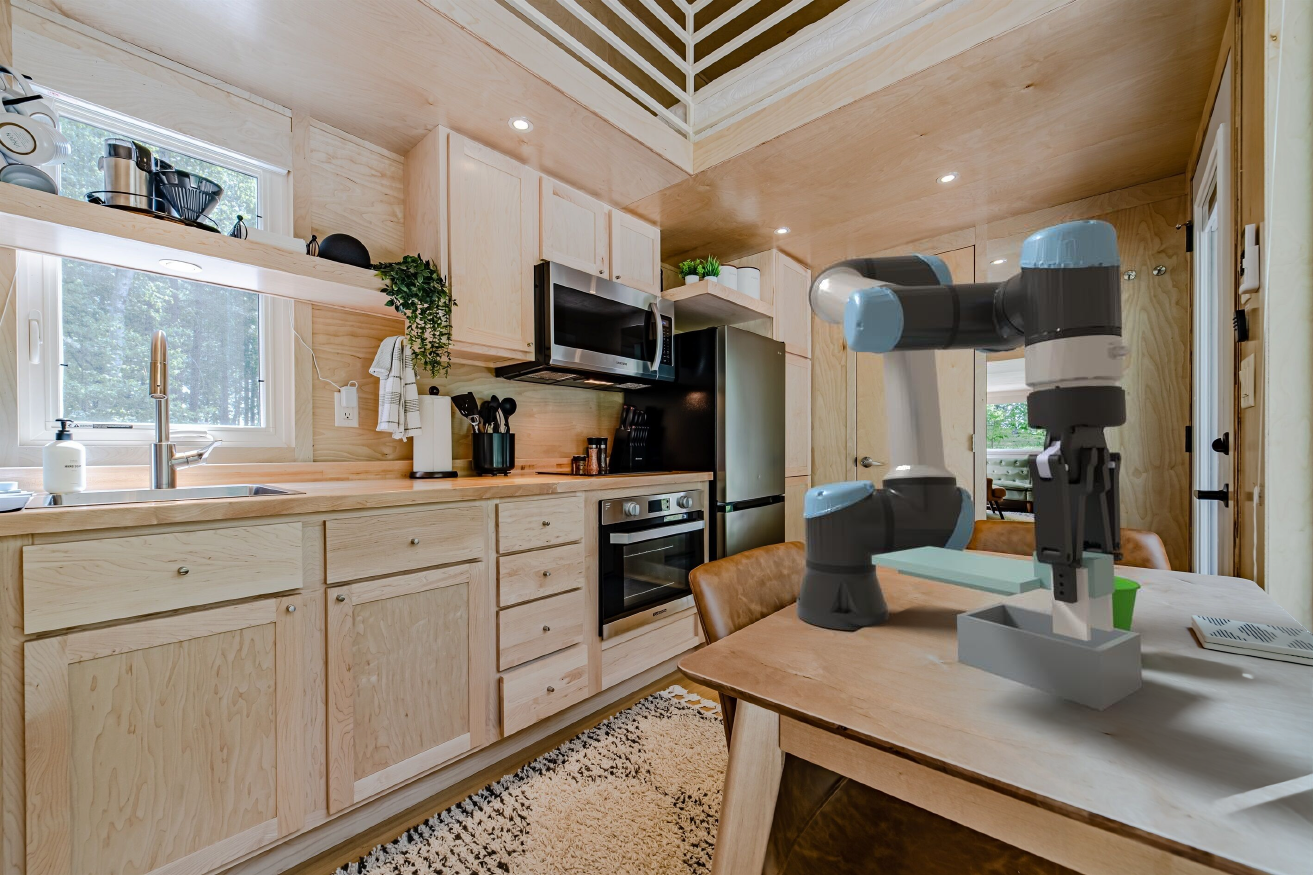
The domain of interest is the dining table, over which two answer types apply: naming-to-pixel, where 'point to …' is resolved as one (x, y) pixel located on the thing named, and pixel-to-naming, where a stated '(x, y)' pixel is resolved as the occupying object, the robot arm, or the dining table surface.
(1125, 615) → the cup
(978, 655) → the tub
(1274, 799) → the dining table surface
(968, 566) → the lid
